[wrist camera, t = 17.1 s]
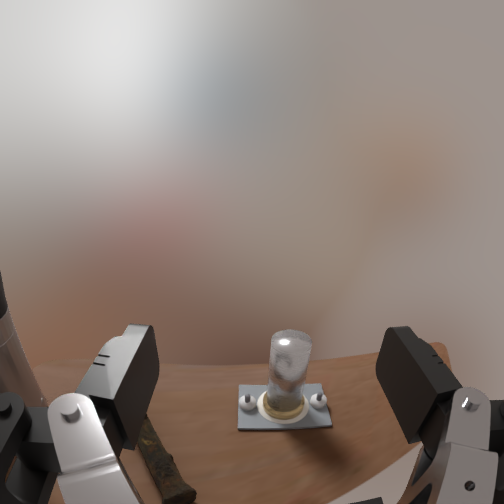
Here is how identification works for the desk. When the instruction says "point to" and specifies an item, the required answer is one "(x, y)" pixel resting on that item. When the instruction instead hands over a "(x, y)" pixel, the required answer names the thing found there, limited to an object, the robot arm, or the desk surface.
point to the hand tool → (163, 467)
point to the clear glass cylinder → (287, 374)
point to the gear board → (258, 419)
